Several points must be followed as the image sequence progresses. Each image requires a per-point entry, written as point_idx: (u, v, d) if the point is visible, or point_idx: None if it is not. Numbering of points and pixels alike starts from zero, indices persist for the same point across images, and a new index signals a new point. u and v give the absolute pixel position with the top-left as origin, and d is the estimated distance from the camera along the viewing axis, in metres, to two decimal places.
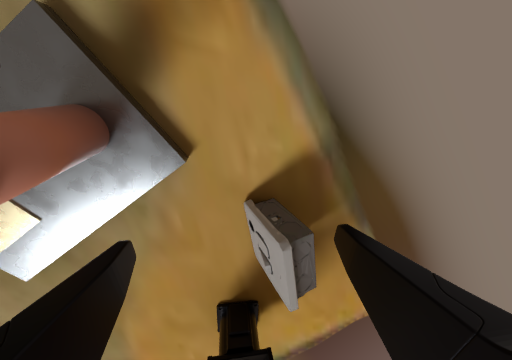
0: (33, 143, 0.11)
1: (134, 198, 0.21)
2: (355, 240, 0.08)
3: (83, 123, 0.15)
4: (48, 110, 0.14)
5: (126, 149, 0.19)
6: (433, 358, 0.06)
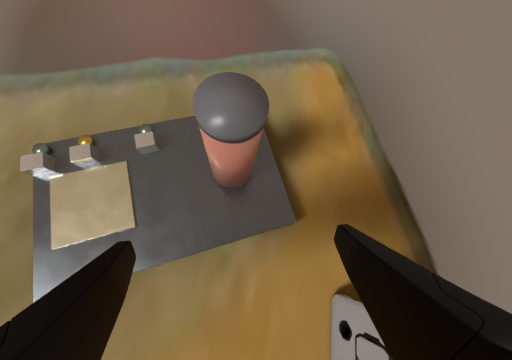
0: None
1: (234, 239, 0.20)
2: (355, 240, 0.08)
3: None
4: None
5: (254, 193, 0.22)
6: (433, 358, 0.06)
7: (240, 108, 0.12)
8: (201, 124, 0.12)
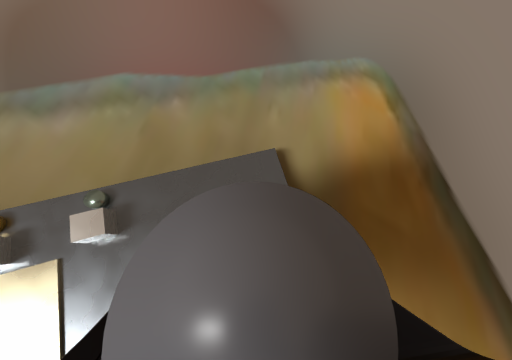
0: None
1: None
2: None
3: None
4: None
5: None
6: None
7: (295, 348, 0.03)
8: None
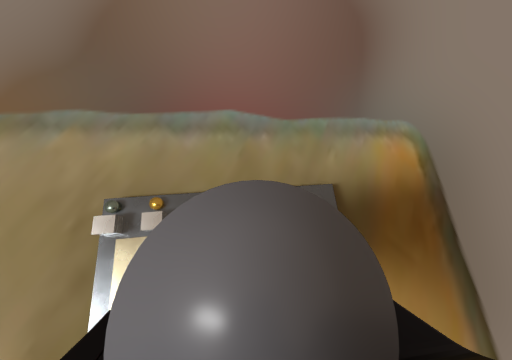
0: None
1: None
2: None
3: None
4: None
5: None
6: None
7: (296, 346, 0.03)
8: None
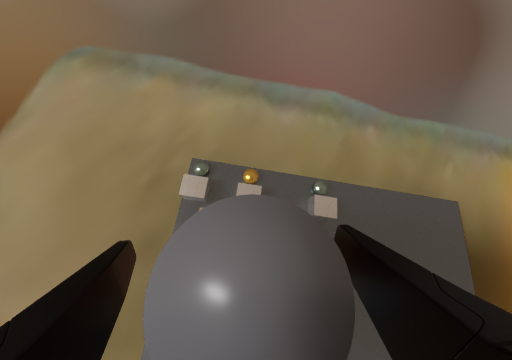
0: None
1: None
2: (355, 240, 0.08)
3: None
4: None
5: None
6: (433, 358, 0.06)
7: (280, 316, 0.04)
8: None
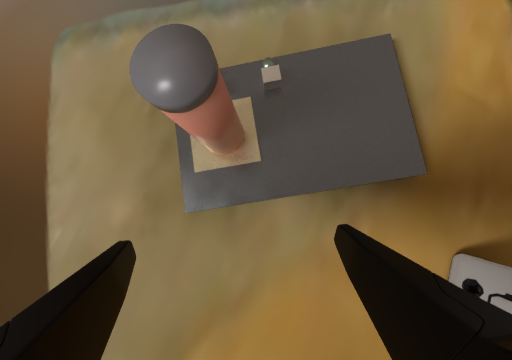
0: None
1: (354, 183, 0.20)
2: (355, 240, 0.08)
3: None
4: None
5: (380, 138, 0.20)
6: (433, 357, 0.06)
7: (182, 67, 0.10)
8: (149, 101, 0.11)
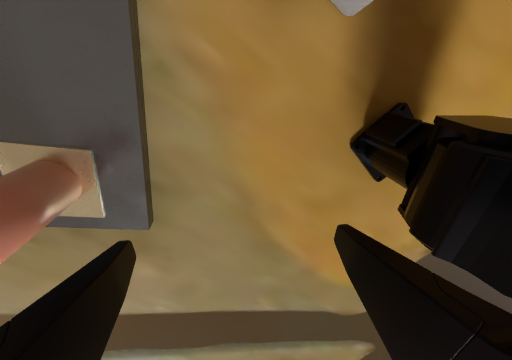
0: None
1: (128, 38, 0.14)
2: (355, 240, 0.08)
3: (7, 174, 0.15)
4: None
5: None
6: (433, 358, 0.06)
7: None
8: None
